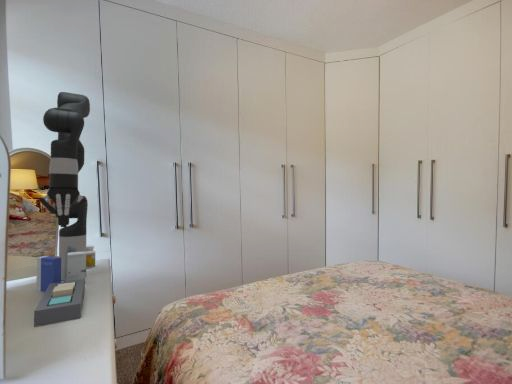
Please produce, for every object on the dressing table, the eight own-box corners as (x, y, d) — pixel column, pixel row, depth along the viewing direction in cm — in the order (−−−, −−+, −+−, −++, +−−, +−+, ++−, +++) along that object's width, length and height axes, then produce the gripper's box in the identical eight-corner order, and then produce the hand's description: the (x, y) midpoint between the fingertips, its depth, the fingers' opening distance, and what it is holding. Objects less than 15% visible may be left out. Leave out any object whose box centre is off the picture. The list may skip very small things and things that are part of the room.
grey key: (57, 294, 89) (58, 284, 89) (75, 292, 92) (75, 282, 92) (55, 299, 85) (55, 288, 85) (74, 297, 88) (74, 286, 88)
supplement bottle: (78, 268, 122) (78, 247, 123) (87, 265, 128) (87, 244, 128) (89, 269, 122) (89, 247, 122) (97, 265, 127) (98, 245, 127)
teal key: (51, 310, 77) (51, 298, 77) (71, 307, 80) (71, 295, 80) (48, 317, 73) (48, 304, 73) (69, 313, 75) (69, 301, 75)
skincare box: (65, 288, 97) (66, 254, 97) (66, 284, 101) (66, 252, 101) (86, 285, 101) (86, 252, 101) (85, 282, 104) (86, 250, 104)
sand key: (54, 298, 83) (54, 286, 83) (73, 295, 86) (73, 284, 86) (52, 303, 79) (52, 291, 79) (72, 300, 82) (72, 288, 82)
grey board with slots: (49, 295, 90) (49, 283, 90) (84, 290, 95) (84, 279, 95) (34, 326, 70) (34, 311, 70) (80, 318, 75) (80, 303, 75)
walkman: (61, 290, 95) (61, 256, 95) (53, 292, 93) (53, 258, 93) (44, 287, 97) (44, 254, 98) (36, 290, 95) (36, 256, 95)
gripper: (88, 174, 93) (88, 224, 93) (40, 172, 87) (39, 226, 87) (87, 173, 87) (87, 227, 87) (35, 171, 80) (34, 229, 80)
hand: (63, 226), depth 87 cm, fingers closed
